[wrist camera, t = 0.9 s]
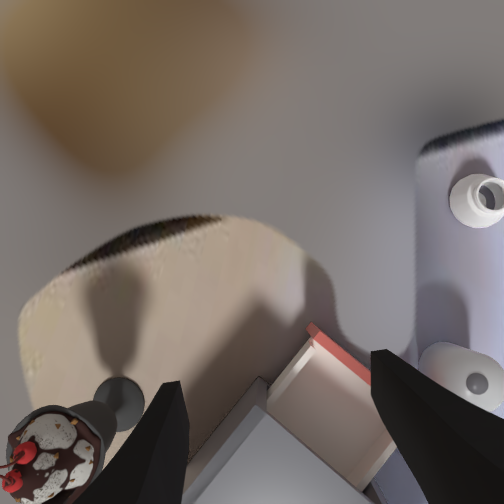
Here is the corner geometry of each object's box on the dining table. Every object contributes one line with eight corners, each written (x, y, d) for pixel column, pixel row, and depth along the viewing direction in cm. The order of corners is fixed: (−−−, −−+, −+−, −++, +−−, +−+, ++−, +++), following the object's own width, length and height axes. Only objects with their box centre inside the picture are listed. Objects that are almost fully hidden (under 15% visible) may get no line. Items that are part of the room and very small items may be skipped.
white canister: (480, 364, 32) (521, 380, 27) (449, 403, 32) (484, 427, 27) (439, 331, 32) (471, 341, 27) (408, 370, 32) (434, 387, 27)
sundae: (106, 354, 34) (-24, 415, 19) (166, 391, 33) (81, 483, 18) (70, 416, 33) (-91, 528, 18) (130, 454, 33) (15, 600, 18)
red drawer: (417, 409, 31) (449, 437, 26) (342, 505, 31) (358, 554, 25) (311, 321, 32) (319, 330, 27) (236, 414, 32) (230, 442, 26)
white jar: (445, 178, 34) (450, 230, 33) (461, 168, 31) (467, 225, 30) (498, 174, 33) (504, 227, 33) (520, 164, 30) (527, 221, 30)
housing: (370, 471, 32) (401, 529, 24) (293, 569, 31) (301, 658, 24) (258, 376, 33) (255, 404, 25) (183, 469, 32) (158, 525, 25)
